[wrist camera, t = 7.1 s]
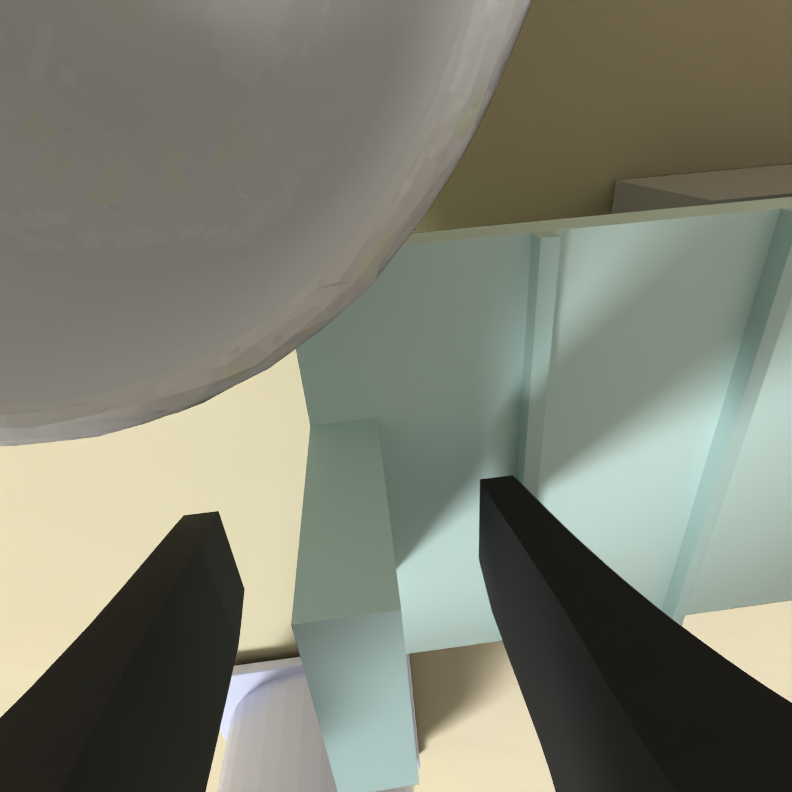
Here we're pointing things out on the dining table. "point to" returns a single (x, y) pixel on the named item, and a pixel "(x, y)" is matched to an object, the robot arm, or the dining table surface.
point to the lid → (539, 439)
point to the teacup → (212, 185)
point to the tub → (702, 188)
